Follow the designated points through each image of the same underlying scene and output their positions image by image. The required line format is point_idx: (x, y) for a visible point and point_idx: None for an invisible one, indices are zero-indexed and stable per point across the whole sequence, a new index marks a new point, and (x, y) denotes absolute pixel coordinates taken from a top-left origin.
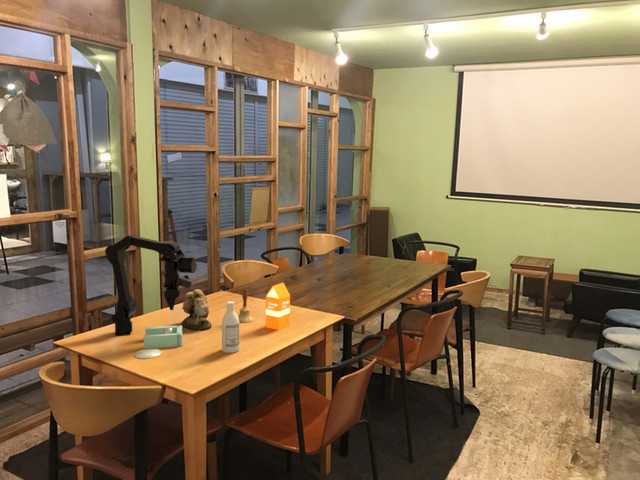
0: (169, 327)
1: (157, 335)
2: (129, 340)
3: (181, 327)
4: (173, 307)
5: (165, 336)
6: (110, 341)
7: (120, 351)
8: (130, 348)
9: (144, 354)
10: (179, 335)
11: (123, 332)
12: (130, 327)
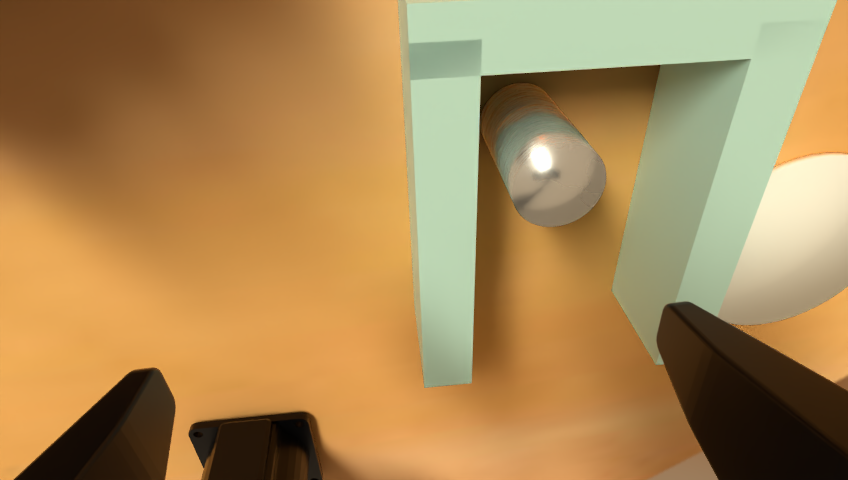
0: (527, 178)
1: (721, 263)
2: (432, 393)
3: (510, 7)
4: (755, 341)
5: (759, 183)
6: (431, 470)
7: (640, 397)
8: (606, 360)
9: (804, 267)
10: (821, 16)
11: (306, 458)
12: (267, 457)
